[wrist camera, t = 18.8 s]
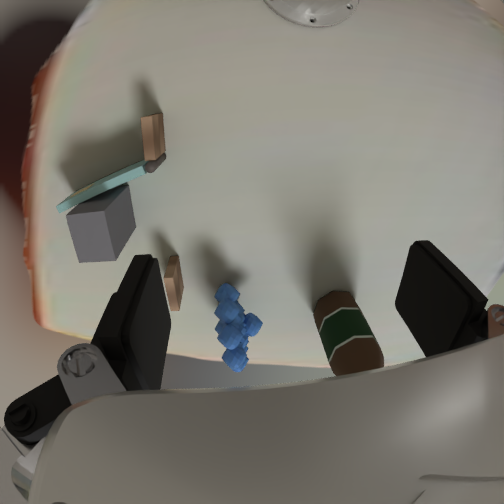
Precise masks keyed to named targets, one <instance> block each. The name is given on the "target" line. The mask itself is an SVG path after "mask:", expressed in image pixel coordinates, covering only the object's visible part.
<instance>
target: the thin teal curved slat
mask: <svg viewBox="0 0 504 504" xmlns="http://www.w3.org/2000/svg"><path fill="white" fill-rule="evenodd" d="M148 162H149V161H145V160H142V161H140V162H138V163H135V164H133V165H131V166H128V167H126V168H124V169H122V170H119V171H117V172H115V173H113V174H111V175H108V176H106V177H104V178H102V179H100V180H98V181H96V182H94V183H92V184H90V185H88V186H86V187H84V188H82V189H80V190H78V191H76V192H74V193H73V194H71V195H70V196H69V197H67V198H66V199H65V200H64V201H62V202H61V203H60V204H58V205H57V206H56V207H57V209H58V211H59V213H61V212H63V211H65V210H67V209H69V208H71V207H73V206H75V205H77V204H79V203H81V202H83V201H85V200H87V199H90V198H92V197H94V196H96V195H98V194H100V193H102V192H105V191H107V190H109V189H111V188H114V187H116V186H118V185H120V184H123V183H125V182H127V181H130V180H132V179H134V178H137V177H139V176H142V175H144V174H146V173H147V171H146V170H145V165H146V164H147V163H148Z"/></svg>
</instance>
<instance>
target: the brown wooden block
mask: <svg viewBox="0 0 504 504" xmlns="http://www.w3.org/2000/svg"><path fill="white" fill-rule="evenodd" d="M141 127H142V138H143V148H144V157H145V161H149V162H148V163H147V164H146V165H145V170H146V171H147V172H148V173H152V172H154V171H155V170H156V169H157V168H158V167H159V166H160V165H161V163H162V162H163V161H164V160H165V159H166V154H165V153H164V152H165V151H166V149H165V138H164V125H163V113H160V114H153V115H149V116H145V117H141ZM164 282H165V287H166V292H167V296H168V301H169V305H170V309H171V311H179V310H180V304H181V299H182V294H183V288H184V286H183V280H182V274H181V268H180V262H179V256H170V259H169V262H168V265H167V269H166V272H165V275H164Z"/></svg>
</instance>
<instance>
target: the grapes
mask: <svg viewBox="0 0 504 504" xmlns="http://www.w3.org/2000/svg"><path fill="white" fill-rule="evenodd" d="M239 295H240V293H239V292H238V291H237V290H236V289H235V288H234V287H233V286H231V285H229V284H227V283H225V284H222V285H221V286H220V287H219V289H218V291H217V292H216V294H215V298H216V299H217V301H218V302H219V305H218V306H217V308H216V310H215V312H214V314H215V315H216V316H217V317H218V318H219V319H220V321H219V322H218V324H217V326H216V328H215V330H216V331H217V333H218V334H219V335H218V337H217V339H218V340H219V341H220V342H221V343H222V344H223V345H224V346H225V347H226V348H227V349H226V351H225V352H224V354H223V356H222V359H223V360H224V362H225V363H226V364H227V365H228V366H229V367H230V368H231V369H232V370H233V371H235V372H240V371H242V370H243V369H244V367H245V366H246V364H247V362H248V360H249V359H248V358H247V354H246V352H247V350H248V347H247V346H246V345H247V344H248V342H249V341H248V337H249V336H251V337H252V336H255V335H256V334H257V333H258V331H259V330H260V328H261V326H262V324H263V323H262V322H261V320H260V319H259V318H258V317H257V316H255V315H254V314H252V313H248V314H246V315H245V314H244V313H243V312H244V311H245V310H244V309H243V307H242V306H241V305H240V304H239V303H238V301H237V299H238V297H239Z"/></svg>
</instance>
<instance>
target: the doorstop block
mask: <svg viewBox="0 0 504 504" xmlns="http://www.w3.org/2000/svg"><path fill="white" fill-rule="evenodd" d="M66 218H67V222H68V226H69V229H70V233H71V237H72V240H73V244H74V247H75V250H76V254H77V257H78V260H79V263H82V262H101V261H116V260H117V258H118V256H119V255H120V253H121V251H122V249H123V248H124V246H125V244H126V243H127V241H128V239H129V238H130V236H131V234H132V233H133V231H134V230H135V228H136V224H135V218H134V213H133V207H132V202H131V196H130V189H129V185H127V186H118V187H114V188H111V189H109V190H107V191H105V192H102V193H100V194H98V195H96V196H94V197H92V198H90V199H87V200H85V201H83V202H81V203H79V204H78V205H77V206H76V207H75V208H74V209H72V210H71V211H70V212H69V213H68V214H67V215H66Z"/></svg>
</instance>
